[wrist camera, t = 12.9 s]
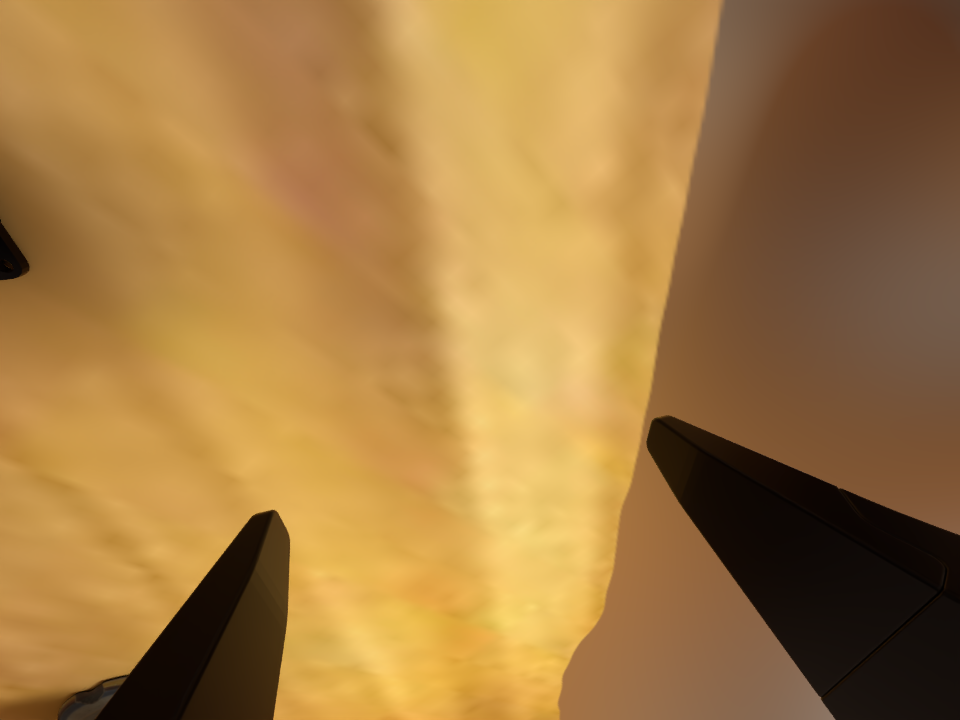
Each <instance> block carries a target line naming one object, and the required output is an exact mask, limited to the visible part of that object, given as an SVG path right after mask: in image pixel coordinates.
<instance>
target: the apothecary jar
mask: <svg viewBox="0 0 960 720" xmlns="http://www.w3.org/2000/svg"><path fill="white" fill-rule="evenodd" d="M127 677H128V676H125V677H120V678H116V679H112V680H108V681H105V682H103V683H102V684H101V685H99V686H98V687H96V688H95V689H94V690H92V691H88V692H81V693H77V694H75V695H74V696H72V697H71V698H70V699H68V700H67V701H66V702H65V703H64V704H63V706H62V707H61V708H60V710H59V713H58V720H94V719H95V718H96V717H97V715H98V714H99V713H100V712H101V710H102V709H103V708H104V706H105V705H106V704H107V702H108V701H109V700H110V699H111V697H112V696H113V695H114V693H115V692H116V691H117V690H118V688H119V687H120V686H121V684H122V683H123V682H124V681H125V679H126V678H127Z"/></svg>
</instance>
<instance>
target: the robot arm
mask: <svg viewBox="0 0 960 720" xmlns="http://www.w3.org/2000/svg"><path fill="white" fill-rule="evenodd" d="M3 260H6V261H8V262H9V263H11V264H12V266H13V268H14V269H11V268H8V267H7V266H6V265H5V264H4V263H3ZM29 267H30V266H29V264H28V261H27V260H26V258H25V257H24V256H23V254H22V253H21V251H20V250H19V248H18V247H17V245H16V244H15V242H14V241H13V239H12V238H11V237H10V235H9V234H8V232H7V231H6V229H5V228H4V226H3V225H2V223H1V220H0V280H7V279H14V278H17V277H20V276H22V275H25V274H26V273H27V272H28V271H29ZM647 448H648V451H649V453H650V454H651V456H652V458H653V459H654V461H655V463H656V465H657V466H658V468H659V470H660V471H661V473H662V475H663V477H664V478H665V480H666V482H667V483H668V485H669V487H670V488H671V490H672V492H673V493H674V495H675V497H676V498H677V500H678V502H679V503H680V504H681V506H682V508H683V509H684V510H685V512H686V513H687V515H688V516H689V517H690V519H691V520H692V522H693V523H694V524H695V526H696V527H697V528H698V530H699V531H700V533H701V534H702V535H703V537H704V538H705V539H706V541H707V542H708V544H709V545H710V546H711V548H712V549H713V551H714V552H715V553H716V555H717V556H718V557H719V559H720V560H721V562H722V563H723V564H724V566H725V567H726V568H727V570H728V571H729V573H730V574H731V575H732V577H733V578H734V579H735V581H736V582H737V584H738V585H739V586H740V588H741V589H742V591H743V592H744V593H745V595H746V596H747V597H748V599H749V600H750V602H751V603H752V604H753V606H754V607H755V608H756V610H757V611H758V613H759V614H760V615H761V617H762V618H763V619H764V621H765V622H766V624H767V625H768V627H769V628H770V629H771V631H772V632H773V633H774V635H775V636H776V637H777V639H778V640H779V642H780V643H781V644H782V646H783V647H784V649H785V650H786V651H787V653H788V654H789V656H790V657H791V658H792V660H793V661H794V662H795V664H796V665H797V667H798V668H799V669H800V671H801V672H802V673H803V675H804V676H805V678H806V679H807V680H808V682H809V683H810V684H811V686H812V687H813V689H814V690H815V691H816V693H817V694H818V695H819V696H820V697H821V700H822V701H823V703H824V704H825V706H826V707H827V708H828V709H829V711H830V713H831V714H832V715H833V717H834V718H835V719H836V720H960V535H958V534H955V533H952V532H950V531H947V530H944V529H942V528H939V527H936V526H934V525H931V524H928V523H925V522H923V521H920V520H918V519H915V518H912V517H910V516H907V515H905V514H902V513H899V512H897V511H894V510H892V509H889V508H887V507H885V506H882V505H880V504H877V503H875V502H872V501H870V500H868V499H865V498H863V497H860V496H858V495H856V494H853V493H851V492H849V491H846V490H844V489H841V488H840V489H838V487H837V486H834V485H832V484H830V483H827V482H825V481H823V480H820V479H818V478H816V477H813V476H811V475H809V474H806V473H804V472H802V471H799V470H797V469H794V468H792V467H790V466H787V465H785V464H783V463H780V462H778V461H776V460H773V459H771V458H769V457H766V456H764V455H761V454H759V453H757V452H755V451H752V450H750V449H747V448H745V447H743V446H740V445H738V444H736V443H733V442H731V441H729V440H726V439H724V438H722V437H719V436H717V435H715V434H712V433H710V432H707V431H705V430H703V429H701V428H698V427H696V426H693V425H691V424H689V423H686V422H684V421H682V420H679V419H677V418H675V417H672V416H669V415H668V416H667V415H666V416H661V417H657V418H654V419H653V420H652V422H651V425H650V429H649V433H648V437H647ZM289 559H290V538H289V534H288V531H287V529H286V527H285V525H284V523H283V522H282V520H281V518H280V516H279V514H278V512H277V511H275V510H270V511H266V512H261V513H257V514H255V515H253V516H252V517H251V518H250V519H249V521H248V522H247V523H246V524H245V526H244V527H243V528H242V530H241V531H240V532H239V534H238V535H237V536H236V537H235V539H234V540H233V541H232V543H231V544H230V545H229V546H228V548H227V549H226V550H225V552H224V553H223V554H222V555H221V557H220V558H219V559H218V561H217V562H216V563H215V564H214V566H213V567H212V568H211V570H210V571H209V572H208V573H207V575H206V576H205V577H204V579H203V580H202V581H201V583H200V584H199V585H198V586H197V588H196V589H195V590H194V592H193V593H192V594H191V595H190V597H189V598H188V599H187V601H186V602H185V603H184V604H183V606H182V607H181V608H180V610H179V611H178V612H177V613H176V615H175V616H174V617H173V619H172V620H171V621H170V623H169V624H168V625H167V626H166V628H165V629H164V630H163V632H162V633H161V634H160V635H159V637H158V638H157V639H156V641H155V642H154V643H153V644H152V646H151V647H150V648H149V650H148V651H147V652H146V653H145V655H144V656H143V657H142V659H141V660H140V661H139V662H138V664H137V665H136V666H135V668H134V669H133V670H132V672H131V673H130V674H129V675H128V677H127V678H126V679H125V681H124V682H123V683H122V684H121V686H120V687H119V688H118V690H117V691H116V692H115V693H114V695H113V696H112V697H111V699H110V700H109V701H108V702H107V704H106V705H105V706H104V708H103V709H102V710H101V712H100V713H99V714H98V715H97V717H96V718H95V719H94V720H273V717H274V710H275V703H276V696H277V689H278V682H279V675H280V668H281V661H282V654H283V648H284V641H285V634H286V625H287V615H288V590H289Z"/></svg>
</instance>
